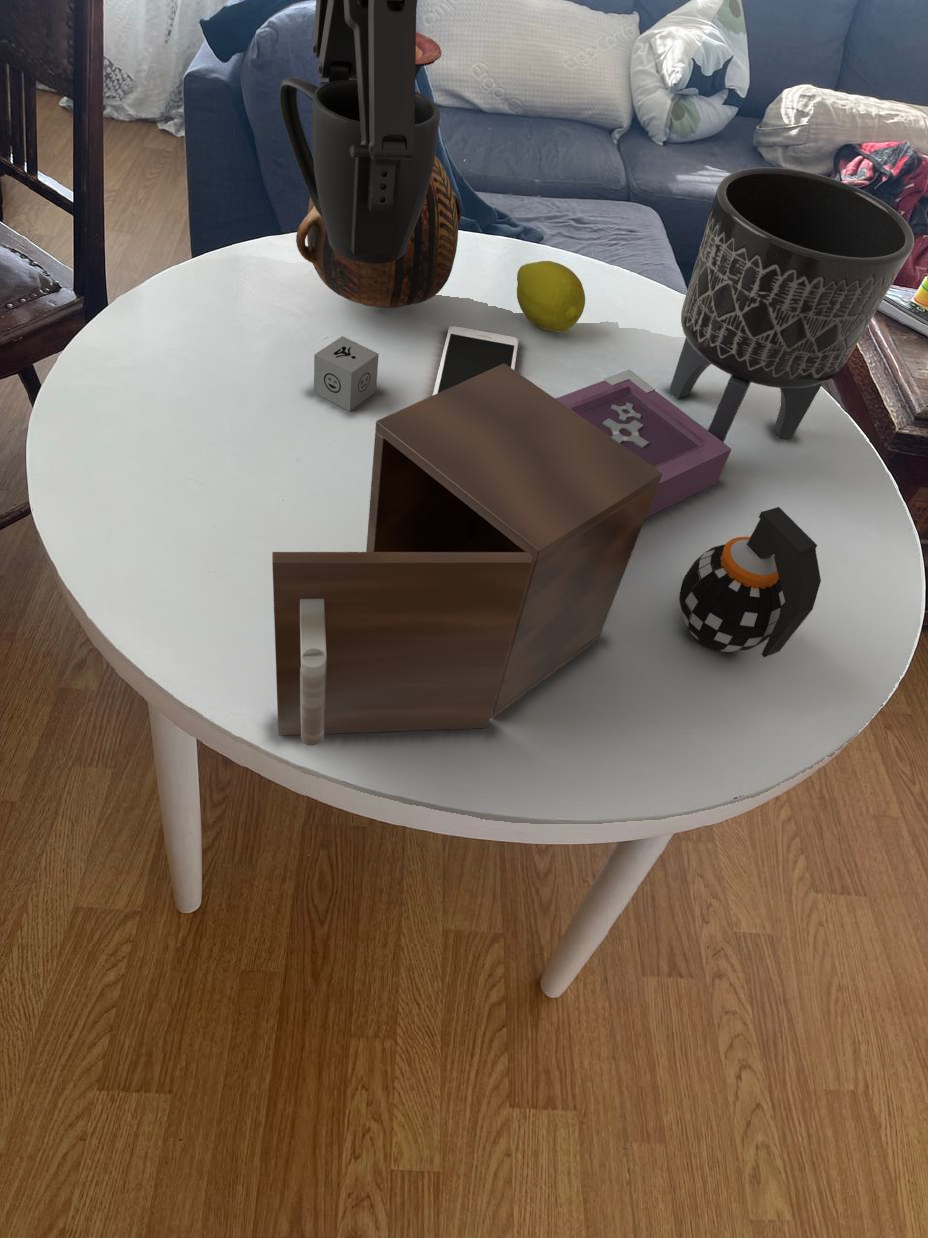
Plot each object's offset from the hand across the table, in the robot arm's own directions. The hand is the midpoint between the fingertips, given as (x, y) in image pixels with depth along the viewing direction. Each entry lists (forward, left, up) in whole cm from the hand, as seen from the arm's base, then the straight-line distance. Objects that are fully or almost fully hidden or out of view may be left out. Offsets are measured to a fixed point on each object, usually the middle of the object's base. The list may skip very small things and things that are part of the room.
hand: (353, 214), depth 64 cm
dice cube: (+5, +23, -32) cm, 39 cm away
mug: (0, +1, -2) cm, 2 cm away
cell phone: (+21, +24, -32) cm, 45 cm away
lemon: (+34, +35, -32) cm, 58 cm away
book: (+28, +5, -32) cm, 43 cm away
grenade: (+32, -19, -32) cm, 49 cm away
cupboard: (+10, -13, -31) cm, 36 cm away
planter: (+49, +11, -32) cm, 59 cm away
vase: (+13, +41, -32) cm, 53 cm away
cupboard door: (-2, -25, -31) cm, 40 cm away
